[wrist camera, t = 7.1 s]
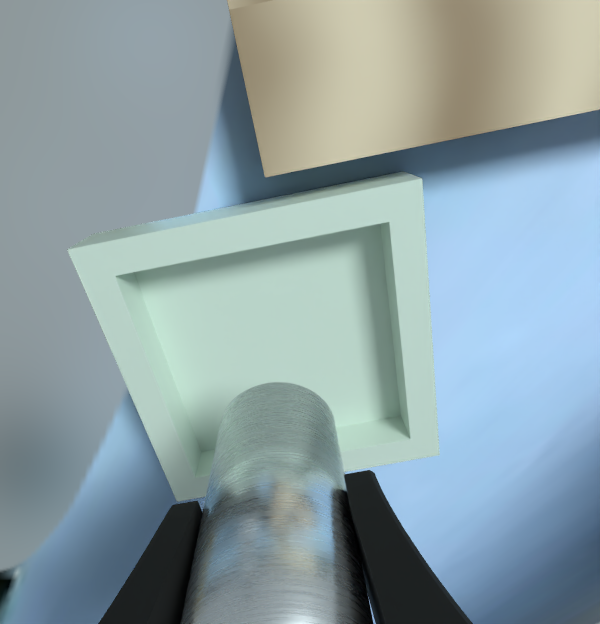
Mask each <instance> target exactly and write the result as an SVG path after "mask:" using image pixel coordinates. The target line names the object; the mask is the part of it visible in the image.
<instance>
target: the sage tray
mask: <svg viewBox="0 0 600 624" xmlns="http://www.w3.org/2000/svg"><path fill="white" fill-rule="evenodd" d="M67 250H68V253H69V255H70V257H71V260H72V262H73V264H74V266H75V269H76V271H77V273H78V276H79V278H80V280H81V282H82V285H83V287H84V289H85V292H86V294H87V296H88V299H89V301H90V303H91V305H92V308H93V310H94V312H95V315H96V317H97V319H98V322H99V323H100V326H101V328H102V331H103V333H104V335H105V338H106V340H107V342H108V344H109V346H110V349H111V351H112V354H113V356H114V358H115V360H116V363H117V365H118V367H119V370H120V372H121V374H122V377H123V379H124V381H125V383H126V386H127V388H128V390H129V393H130V395H131V397H132V400H133V402H134V404H135V406H136V409H137V411H138V413H139V416H140V418H141V420H142V423H143V425H144V427H145V429H146V432H147V434H148V436H149V439H150V441H151V443H152V445H153V448H154V450H155V452H156V455H157V457H158V459H159V462H160V464H161V466H162V468H163V471H164V473H165V475H166V478H167V480H168V482H169V484H170V487H171V489H172V491H173V494H174V496H175V498H176V501H177V502H178V501H184V500H189V499H195V498H201V497H206V493H207V488H208V483H209V478H210V473H211V468H212V462H213V457H214V452H215V447H216V442H217V437H218V432H219V427H220V422H221V418H222V415H223V413H224V411H225V409H226V408H227V406H228V405H229V403H230V402H231V401H232V400H233V399H234V398H235V397H237V396H238V395H239V394H240V393H242V392H244V391H245V390H247V389H249V388H252V387H254V386H257V385H260V384H265V383H273V382H285V383H292V384H296V385H300V386H303V387H305V388H308V389H309V390H311V391H313V392H315V393H316V394H317V395H319V396H320V397H321V398H322V399H323V400H324V401H325V402H326V403H327V405H328V406H329V408H330V409H331V411H332V414H333V416H334V420H335V426H336V431H337V436H338V441H339V447H340V452H341V457H342V462H343V468H344V472H347V471H353V470H358V469H364V468H370V467H375V466H381V465H387V464H392V463H398V462H403V461H409V460H415V459H420V458H426V457H432V456H437V455H439V439H438V423H437V407H436V391H435V375H434V359H433V343H432V327H431V311H430V295H429V279H428V263H427V247H426V231H425V215H424V199H423V183H422V178H420V177H417V176H415V175H412V174H409V173H407V172H404V171H403V172H398V173H393V174H388V175H383V176H378V177H373V178H368V179H363V180H358V181H353V182H348V183H343V184H338V185H333V186H328V187H323V188H319V189H314V190H309V191H304V192H299V193H294V194H289V195H284V196H279V197H274V198H269V199H264V200H259V201H254V202H249V203H244V204H239V205H234V206H229V207H224V208H219V209H214V210H209V211H204V212H199V213H194V214H189V215H184V216H180V217H175V218H170V219H165V220H160V221H155V222H150V223H145V224H140V225H135V226H130V227H125V228H120V229H115V230H110V231H105V232H100V233H96V234H93V235H91V236H89V237H88V238H86V239H84V240H83V241H81V242H79V243H77V244H76V245H74V246H72V247H71V248H69V249H67Z"/></svg>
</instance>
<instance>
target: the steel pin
mask: <svg viewBox="0 0 600 624" xmlns="http://www.w3.org/2000/svg"><path fill="white" fill-rule="evenodd" d="M344 475H345V473H344V468H343V462H342V457H341V452H340V447H339V441H338V436H337V431H336V426H335V420H334V416H333V414H332V411H331V409H330V408H329V406H328V405H327V403H326V402H325V401H324V400H323V399H322V398H321V397H320V396H319V395H317V394H316V393H315V392H313V391H311V390H309V389H308V388H305V387H303V386H300V385H296V384H292V383H285V382H273V383H265V384H260V385H257V386H254V387H252V388H249V389H247V390H245V391H244V392H242V393H240V394H239V395H238V396H237V397H235V398H234V399H233V400H232V401H231V402H230V403H229V405H228V406H227V408H226V409H225V411H224V413H223V415H222V418H221V422H220V427H219V432H218V437H217V442H216V447H215V452H214V457H213V462H212V468H211V473H210V478H209V483H208V488H207V493H206V498H205V503H204V508H203V513H202V518H201V523H200V528H199V533H198V538H197V543H196V548H195V553H194V558H193V563H192V568H191V573H190V578H189V583H188V588H187V593H186V598H185V604H184V609H183V614H182V619H181V624H373V620H372V615H371V609H370V604H369V599H368V594H367V588H366V583H365V578H364V573H363V567H362V562H361V557H360V552H359V547H358V542H357V538H356V535H355V531H354V526H353V521H352V515H351V510H350V505H349V500H348V495H347V489H346V484H345V478H344Z"/></svg>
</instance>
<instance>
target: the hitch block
mask: <svg viewBox="0 0 600 624" xmlns="http://www.w3.org/2000/svg"><path fill="white" fill-rule="evenodd" d="M227 2H228V7H229V11H230V16H231V21H232V26H233V30H234V35H235V40H236V44H237V49H238V54H239V58H240V63H241V68H242V72H243V77H244V82H245V86H246V91H247V96H248V100H249V105H250V110H251V114H252V119H253V124H254V128H255V133H256V138H257V142H258V147H259V152H260V156H261V161H262V166H263V170H264V175H265V177H270V176H275V175H280V174H285V173H289V172H294V171H299V170H304V169H309V168H314V167H319V166H324V165H329V164H334V163H339V162H344V161H349V160H353V159H358V158H363V157H368V156H373V155H378V154H383V153H388V152H393V151H398V150H403V149H408V148H413V147H417V146H422V145H427V144H432V143H437V142H442V141H447V140H452V139H457V138H462V137H467V136H472V135H477V134H481V133H486V132H491V131H496V130H501V129H506V128H511V127H516V126H521V125H526V124H531V123H536V122H540V121H545V120H550V119H555V118H560V117H565V116H570V115H575V114H580V113H585V112H590V111H595V110H600V0H227Z"/></svg>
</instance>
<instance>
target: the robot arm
mask: <svg viewBox="0 0 600 624" xmlns="http://www.w3.org/2000/svg"><path fill="white" fill-rule="evenodd" d="M344 478H345V484H346V489H347V495H348V500H349V505H350V510H351V515H352V521H353V526H354V531H355V535H356V538H357V542H358V547H359V552H360V557H361V562H362V567H363V573H364V578H365V583H366V588H367V593H368V597H369V600H370V604H371V608H372V611H373V615H374V619H375V622H376V624H473V623H472V622H471V621H470V620H469V618H468V617H467V616H466V615H465V613H464V612H463V611H462V610H461V608H460V607H459V606H458V604H457V603H456V602H455V601H454V599H453V598H452V597H451V595H450V594H449V593H448V591H447V590H446V589H445V587H444V586H443V585H442V583H441V582H440V581H439V579H438V578H437V577H436V575H435V574H434V572H433V571H432V570H431V568H430V567H429V565H428V564H427V563H426V561H425V560H424V558H423V557H422V555H421V554H420V552H419V551H418V549H417V548H416V546H415V545H414V543H413V542H412V540H411V539H410V537H409V536H408V534H407V533H406V531H405V530H404V528H403V526H402V525H401V523H400V522H399V520H398V518H397V517H396V515H395V513H394V511H393V510H392V508H391V506H390V505H389V503H388V501H387V499H386V497H385V495H384V493H383V491H382V489H381V487H380V485H379V483H378V481H377V478H376V476H375V473H373V472H372V471H370V470H367V471H362V472H356V473H350V474H345V475H344ZM201 518H202V511H201V508H200V506H199V503H198V501H193V502H188V503H182V504H176V505H173V506H172V507H171V508H170V510H169V511H168V513H167V515H166V516H165V518H164V520H163V521H162V523H161V525H160V526H159V528H158V530H157V531H156V533H155V535H154V536H153V538H152V540H151V541H150V543H149V545H148V546H147V548H146V550H145V551H144V553H143V555H142V556H141V558H140V560H139V561H138V563H137V564H136V566H135V568H134V569H133V571H132V572H131V574H130V576H129V577H128V579H127V580H126V582H125V584H124V585H123V587H122V588H121V590H120V591H119V593H118V595H117V596H116V598H115V599H114V601H113V602H112V604H111V606H110V607H109V609H108V610H107V612H106V613H105V615H104V616H103V618H102V619H101V620H100V622H99V623H98V624H181V619H182V614H183V609H184V604H185V598H186V593H187V588H188V583H189V578H190V573H191V568H192V563H193V558H194V553H195V548H196V543H197V538H198V533H199V528H200V523H201Z"/></svg>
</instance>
